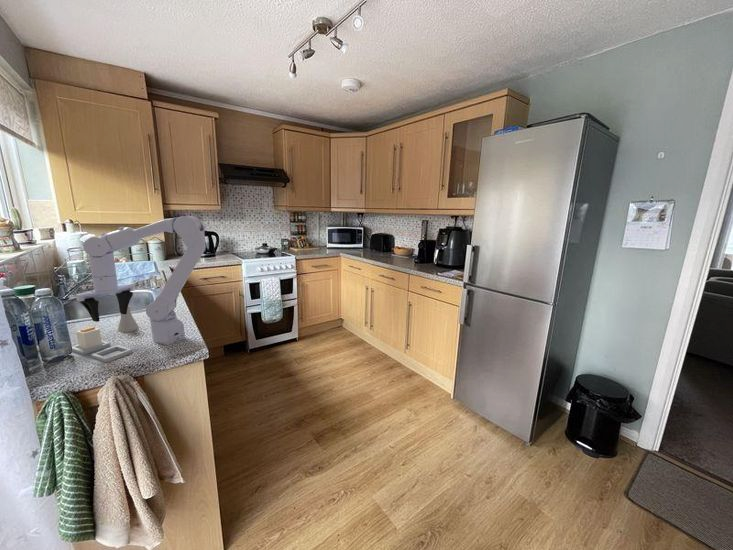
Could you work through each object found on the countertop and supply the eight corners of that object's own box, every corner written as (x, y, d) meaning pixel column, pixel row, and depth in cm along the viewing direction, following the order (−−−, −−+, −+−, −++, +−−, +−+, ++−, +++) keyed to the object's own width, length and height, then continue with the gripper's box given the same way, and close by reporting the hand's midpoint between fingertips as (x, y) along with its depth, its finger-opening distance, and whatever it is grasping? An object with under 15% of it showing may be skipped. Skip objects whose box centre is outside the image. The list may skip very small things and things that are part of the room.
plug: (102, 346, 96) (99, 327, 94) (87, 352, 92) (83, 331, 91) (95, 344, 97) (91, 325, 96) (79, 349, 93) (75, 329, 92)
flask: (137, 327, 115) (134, 302, 113) (143, 332, 111) (140, 306, 109) (113, 333, 110) (109, 306, 108) (118, 338, 105) (114, 311, 103)
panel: (138, 354, 94) (137, 347, 94) (100, 369, 85) (99, 361, 85) (103, 344, 101) (102, 337, 100) (64, 357, 92) (63, 349, 91)
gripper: (122, 270, 102) (127, 309, 105) (67, 278, 89) (74, 322, 92) (135, 272, 100) (140, 312, 102) (81, 281, 86) (88, 326, 89)
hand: (110, 317), depth 97 cm, fingers open, 7 cm apart
